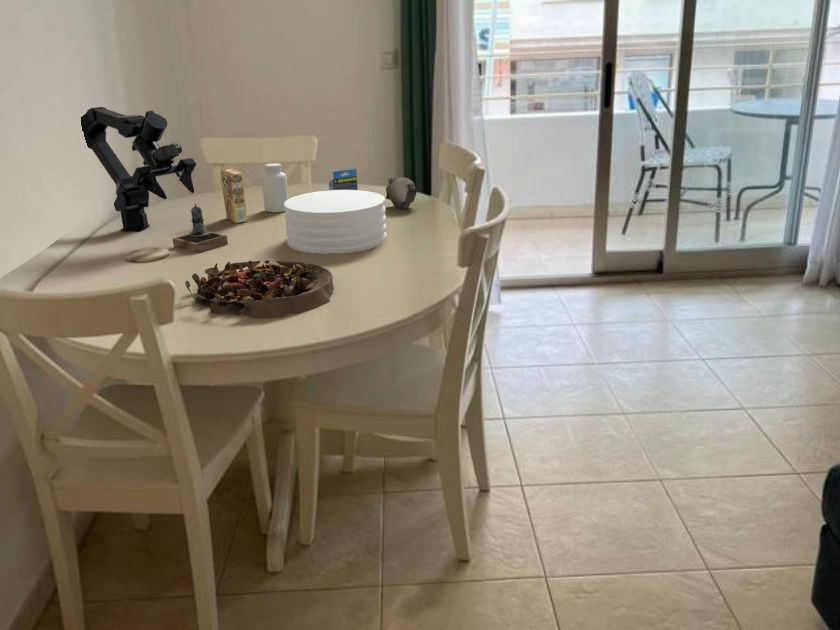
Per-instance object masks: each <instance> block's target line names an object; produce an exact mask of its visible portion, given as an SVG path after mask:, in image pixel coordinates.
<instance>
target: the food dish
mask: <svg viewBox="0 0 840 630" xmlns="http://www.w3.org/2000/svg"><path fill="white" fill-rule="evenodd" d="M260 263H261V260H256V261H252V260H250V259H249V260H248V261H241V262H233V263H231V262H230V261H228V262H226V264H225V266H224V269H222V270H219V267H218V263H217V262H216V263H215V265H214V267H209V268H205V269H204V273H205V274H206V275H207V278H206V277H204V276H201V278H200V277H199V275H198V274H197V273H196V272H195V273H193V274H192V276H191V278H192V280H193V281H194V283H195V284H196V285H197V289H196V290H197V291H196V293H195V292H192V291H191V289H190V287H191V283H190V281H189V280H186V281H185V282H184V284H185V287H186V288H187V290H188V291H189V292H190V294H191V296H192V298H193V299H194V302H195V304H196V305H197V306H199V307H201V308H204V307H207V308H210V312H211V313H213V314H215V315H220V316H221V315H222V316H224V315H225V316H226V315H228V316H229V315H230V316H249V317H251V318H254V319H258V320H261V319H280V318H284V317H287V316H290V315H299V314H302V313H306V312H309V311H311V310H314V309H315V310H316V309H318V308H319V307H322V306H325V305H326V304H329V303H330V302H331V297H332V296H333V294H334V291H333V290H335V288H334V283H333V281H334V280H333V274H332V272H331V271H330V270H329V269H328V268H326V267H323V266H322V265H319V264H315V263H311V262H307V261H306V262H305V261H299V260H297V261H295V260H290V261H289V260H288V261H287V260H284V261H282V260H277V261H275V263H277V264H278V265H276V264H275V263H270V260H268V259H266V260H264V263H265V265H264V263H262V264H261V265H260ZM237 270H239V271H237Z"/></svg>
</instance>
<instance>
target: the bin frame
mask: <svg viewBox="0 0 840 630" xmlns="http://www.w3.org/2000/svg"><path fill="white" fill-rule="evenodd" d="M208 231H209V230H208ZM209 232H210V234H209V239H208V240H206V241H202V242H198V243H195V242H193V241H192V240H191V238H190V236H189V233H188V234H185V235H180V236H176V237H173V238H172V242H173V243H172V245H173V248H176V249H180V250H183V251H184V250H185V251H188V252H191V253H195V254H197V253H202V252H205V251H209V250H213V249H215V248H219V247H223V246H227V245H228V244H229V242H228V235H227V234H222V233H217V232H213V231H209Z"/></svg>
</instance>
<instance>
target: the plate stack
mask: <svg viewBox="0 0 840 630" xmlns="http://www.w3.org/2000/svg"><path fill="white" fill-rule="evenodd" d="M385 205H386V197H385V196H383V195H382V194H381V193H378V192H374V191H373V192H372V191H368V190H360V189H358V190H329V189H328V190H320V191H313V192H307V193H303V194H302V193H301V194H298V195H296V196H292V197H290V198H288V200H286V201H285V202H284V209H285V210H286V211H284V219H285V227H286V231H285V232H286V236H287V239H286V240H287V241H286V243H287V246H288V247H289V248H291V249H293V250H294V249H295V250H294V251H297V250H298V251H299V252H301V251H304V252H303V253H306V252H310V253H309V254H315V253H340V254H342V253H341V252H350V253H354V252H353V251H357V252H361V251H360V250H362V251H365V250H364V249H367V250H369V249H368V248H370V249H372V248H371V247H373V248H375V247H374V246H376V247H378V246H380V245H382V244H383V242H384V241H385V240H386V241H387V239H386V238H388V237H387V224H386V222H387V217H386V206H385ZM381 243H382V244H381ZM384 243H385V242H384ZM379 244H380V245H379ZM377 245H378V246H377Z"/></svg>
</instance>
